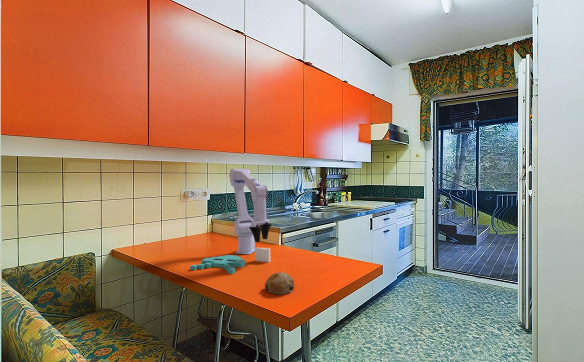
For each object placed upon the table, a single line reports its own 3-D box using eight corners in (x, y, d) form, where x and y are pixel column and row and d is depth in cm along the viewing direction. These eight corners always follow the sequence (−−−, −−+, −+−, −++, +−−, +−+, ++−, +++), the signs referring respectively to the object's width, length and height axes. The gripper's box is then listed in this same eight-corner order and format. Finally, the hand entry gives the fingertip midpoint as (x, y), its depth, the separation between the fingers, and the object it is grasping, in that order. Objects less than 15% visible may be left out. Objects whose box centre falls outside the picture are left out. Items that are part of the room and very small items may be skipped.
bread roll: (282, 306, 108) (291, 287, 107) (257, 290, 111) (266, 271, 110) (293, 295, 117) (301, 277, 116) (270, 281, 120) (278, 263, 119)
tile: (256, 260, 151) (256, 247, 151) (270, 261, 149) (270, 248, 149) (255, 261, 150) (255, 248, 150) (269, 262, 148) (268, 249, 147)
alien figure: (232, 275, 131) (251, 261, 151) (232, 269, 131) (251, 256, 151) (190, 271, 137) (213, 258, 156) (190, 266, 137) (213, 254, 156)
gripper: (260, 212, 141) (261, 243, 140) (274, 209, 154) (275, 238, 154) (246, 212, 143) (247, 243, 143) (261, 210, 157) (262, 237, 156)
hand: (261, 240), depth 148 cm, fingers open, 7 cm apart
